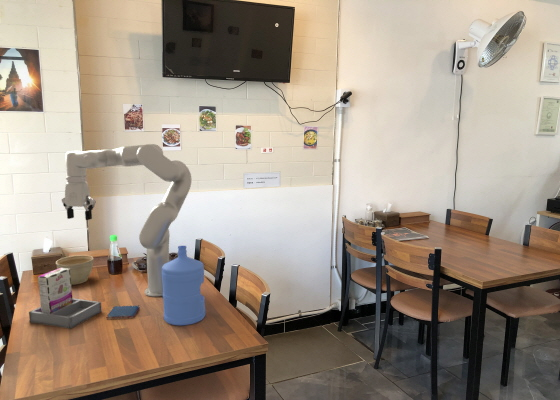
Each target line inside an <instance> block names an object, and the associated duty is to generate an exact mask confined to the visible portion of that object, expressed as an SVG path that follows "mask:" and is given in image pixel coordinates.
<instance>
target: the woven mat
mask: <svg viewBox="0 0 560 400" xmlns="http://www.w3.org/2000/svg"><path fill="white" fill-rule="evenodd" d="M139 310H140V305H139V304H138V305H135V304H134V305H119V306H118V305H115V306H113V307H112V309H111V310H110V311H109V313H108V314H107V315H106V316H105V318H106V320H107V321H108V320H124V319H126V320H129V319H134V318H135V317H136V314H137V313H138V311H139Z"/></svg>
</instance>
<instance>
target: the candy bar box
mask: <svg viewBox="0 0 560 400" xmlns="http://www.w3.org/2000/svg"><path fill="white" fill-rule="evenodd" d="M37 281H38V282H37V284H38V291H39V302H40V307H41V312H42V313H48V314H51V313H53V312H55V311H57V310H59V309H61V308H63V307H65V306H67V305H70V304H72V303H73V299H72V298H73V290H72V285H71V277H70V269H68V268H59V269H57V268H56V269H54V270H51V271H48V272H46V273H43V274H41V275H38V276H37Z"/></svg>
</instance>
